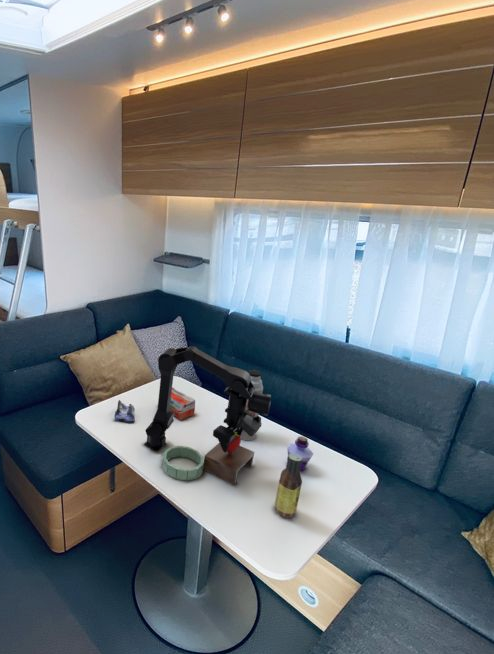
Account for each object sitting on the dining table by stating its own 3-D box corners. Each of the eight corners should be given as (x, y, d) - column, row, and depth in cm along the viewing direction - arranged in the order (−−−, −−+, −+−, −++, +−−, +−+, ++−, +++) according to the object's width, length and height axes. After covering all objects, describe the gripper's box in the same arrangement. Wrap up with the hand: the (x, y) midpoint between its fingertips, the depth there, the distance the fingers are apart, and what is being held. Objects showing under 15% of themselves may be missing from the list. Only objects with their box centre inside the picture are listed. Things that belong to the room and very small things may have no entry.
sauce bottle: (297, 520, 123) (309, 466, 116) (275, 517, 124) (286, 463, 117) (293, 505, 129) (304, 452, 122) (272, 502, 130) (282, 449, 123)
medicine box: (194, 415, 179) (196, 399, 176) (181, 421, 174) (183, 404, 171) (170, 401, 190) (171, 386, 187) (157, 406, 185) (158, 390, 183)
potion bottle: (283, 470, 145) (289, 442, 141) (284, 456, 153) (289, 429, 149) (310, 477, 142) (317, 448, 138) (309, 462, 150) (315, 434, 146)
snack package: (144, 414, 179) (123, 405, 185) (144, 403, 175) (122, 394, 182) (129, 430, 170) (107, 420, 176) (128, 418, 167) (106, 408, 173)
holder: (154, 467, 145) (155, 458, 143) (177, 450, 155) (177, 441, 153) (188, 486, 136) (189, 476, 135) (209, 466, 146) (210, 457, 145)
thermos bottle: (253, 442, 161) (264, 378, 151) (233, 437, 164) (242, 374, 154) (255, 431, 168) (266, 370, 158) (235, 427, 171) (245, 366, 161)
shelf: (202, 469, 145) (204, 455, 143) (222, 451, 155) (223, 438, 152) (234, 485, 137) (236, 470, 135) (252, 465, 147) (254, 452, 145)
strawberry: (216, 454, 143) (219, 429, 140) (227, 445, 148) (231, 421, 145) (231, 462, 139) (235, 437, 136) (242, 452, 144) (246, 428, 141)
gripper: (246, 427, 126) (240, 469, 131) (271, 405, 139) (264, 444, 144) (214, 414, 133) (209, 454, 138) (240, 394, 146) (235, 431, 151)
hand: (230, 446), depth 143 cm, fingers open, 9 cm apart
